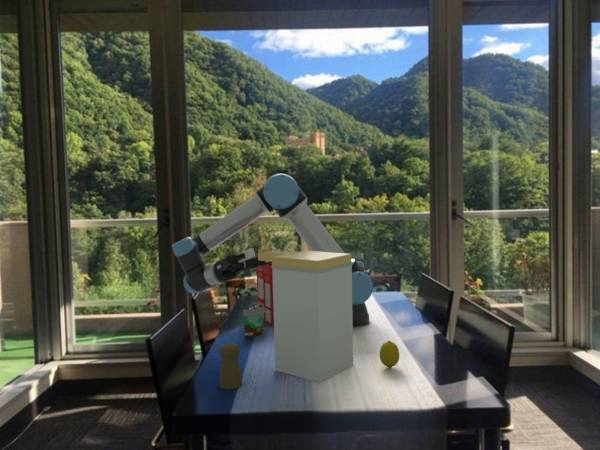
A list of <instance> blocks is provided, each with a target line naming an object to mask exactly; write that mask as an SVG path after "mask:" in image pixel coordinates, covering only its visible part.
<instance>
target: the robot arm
mask: <svg viewBox="0 0 600 450" xmlns="http://www.w3.org/2000/svg"><path fill="white" fill-rule="evenodd" d="M274 211H275V213H276V214H277V215H278V216H279V218H280V219H283V220H287V221H288V222H289V224H290V225H291V226H292V227H293V229H294V230H295V231H296V232H297V234H298V235H299V236H300V238H301V239H302V240H303V241H304V243H305V244H306V245H307V247H308V248H309V250H310V251H319V252H333V253H345V252H344V251H343V250H342V248H341V247H340V245H339V244H338V243H337V242H336V240H335V239H334V237H332V235H331V234H330V233H329V231H328V230H327V229H326V227H325V226H324V225H323V224H322V222H321V221H320V219H318V217H317V215H316V214H315V213H314V212H313V210H312V209H311V208H310V207H309V206H308V197H307V195H306V194H305V193H304V192H303V191H302V189H301V188H300V186H299V185H298V182H297V181H296V180H295V178H293V177H292V176H291V175H289V174H286V173H281V172H280V173H275V174H272V175H271V176H269V178H267V180H266V181H265V183H264V184H263V186H262V187H260V188H259V189H257V191H255V192H254V196H252V197H251V198H250V199H248V200H246V201H245V202H244V203H242V204H241V205H239V206H238V207H236V208H235V209H233V210H232V211H231V212H229V213H228V214H227V215H225V216H223V217H222V218H220V219H219V220H217V221H216V222H214V223H213V224H212V225H210V226H208V227H207V228H206V229H205V230H203V231H202V232H200V233H198V235H196V236H195V237H193V238H192V237H191V236H186V237H184V238H183V239H180V240H179V241H176V242H174V243H173V244H172V245H171V248H172V250H173V254H174V256H175V257H176V259H177V261H178V263H179V264H180V266H181V268H182V270H183V272H184V273H185V275H184V277H183V281H182V282H183V287H184V289H185V290H186V291H187V292H188V293H189V294H198V293H203V292H204V291H207V290H209V289H211V288H213V287H219V286H220V285H221V284H223V283H227V282H229V281H231V280H233V279H234V278H235V277H236V274H237V273H240V272H242V271H243V272H246V271H249V270H251V269H255V268H256V267H259V266H262V265H265V264H269V263H270V261H260V260H258V257H257V258H256V253H255V249H254V247H251V248H249V249H245V250H244V251H241V252H240V253H237V254H233V255H227V256H226V257H224V258H222V259H219V260H217V261H214V262H212V263H210V264H208V265H206V263H205V261H204V259H203V258H202V257H204V256H206V255H207V254H208V253H210V252H211V251H212V250H214V249H215V248H217V247H218V246H220V245H221V244H222V243H224V242H226V241H227V240H228V239H230V238H231V237H233V236H234V235H236V234H237V233H239V232H241V230H244V228H246V227H247V226H249V225H250V224H252V223H253V222H254V221H256V220H258V219H259V218H260V217H262V216H263V215H265V214H271V213H272V212H274ZM273 251H277V252H282V251H281V248H277V249H275V250H273ZM352 263H353V265H352V313H353V327H358V326H359V327H360V326H364V325H365V326H366V325H367V324H369V323H370V314H369V312H368V309H367V305H366V302H367V301H369V299H370V298H371V296H372V294H373V290H374V285H373V280H372V279H371V277H370V276H369V275H368V274H367V273H366V272H365V269H366V268H365V265H364V262H362V261H357V260H356V259H355V258H352Z"/></svg>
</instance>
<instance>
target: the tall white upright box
mask: <svg viewBox="0 0 600 450" xmlns="http://www.w3.org/2000/svg"><path fill="white" fill-rule="evenodd" d="M352 265H353V263H348V264H343V265H339V266H335V267H330V268H326V269H322V270H310V269H300V268H290V267H280V266H271V269H272V272H273V309H274V326H273V340H274V343H273V344H274V346H273V347H274V370H275V371H276V372H281V373H282V374H283V373H284V374H288V375H291V376H295V377H299V378H303V379H306V380H309V381H314V382H318V383H322V382H324V381H326V380H329V379H330V378H332V377H335V376H337V374H339V373H342V372H344V371H346V370H348V369H349V368H351V367H353V366H354V332H353V331H354V329H353V328H354V326H353V313H352Z"/></svg>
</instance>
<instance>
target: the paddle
mask: <svg viewBox="0 0 600 450" xmlns="http://www.w3.org/2000/svg"><path fill="white" fill-rule="evenodd" d="M257 256H258V260H260V261H270V262H272V266H280V267H290V268H300V269H310V270H322V269H326V268H330V267H335V266H339V265H343V264H348V263H352V259H353V258H352V257H353V255H352V253H345V252H344V253H333V252H319V251H312V250H304V251H298V252H291V251H290V252H289V251H281V252H277V251H274V250H271V248H269V247H266V248H260V249H258V252H257Z"/></svg>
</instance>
